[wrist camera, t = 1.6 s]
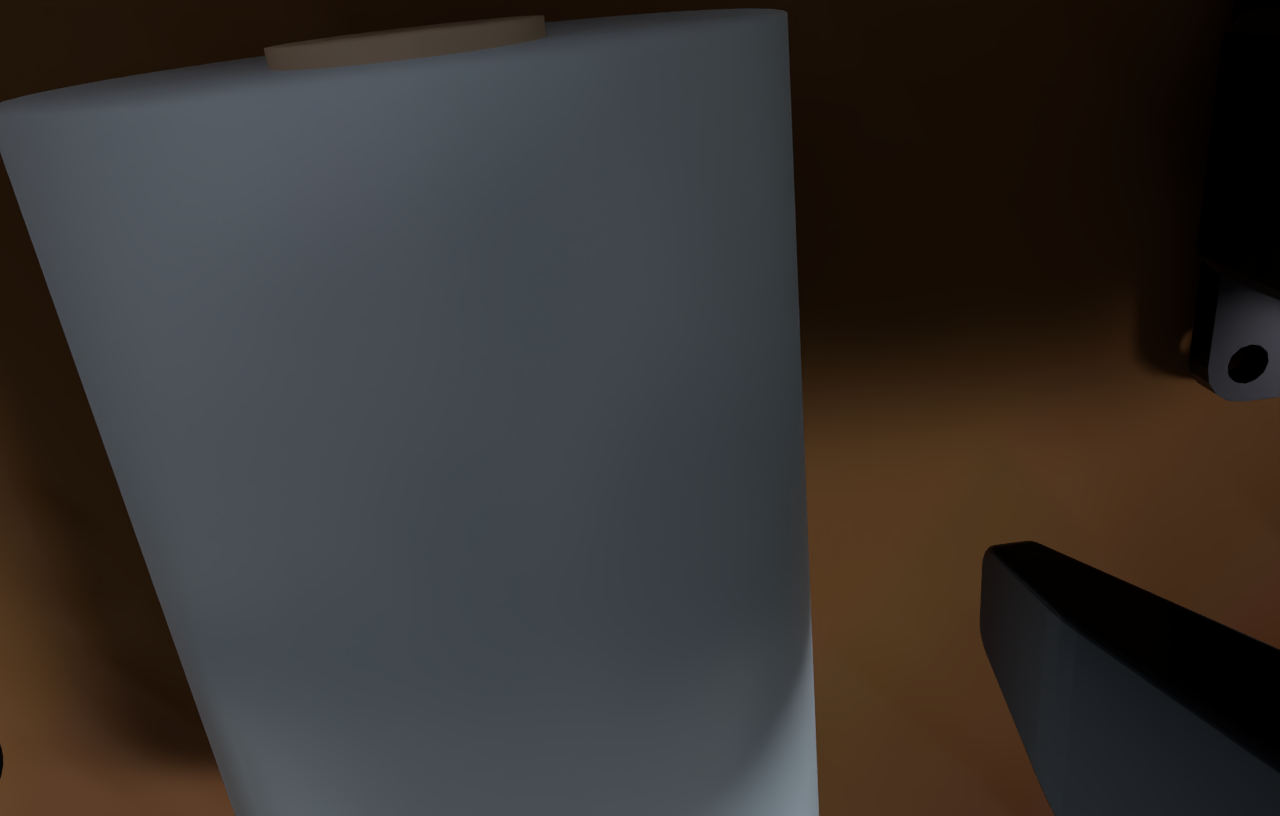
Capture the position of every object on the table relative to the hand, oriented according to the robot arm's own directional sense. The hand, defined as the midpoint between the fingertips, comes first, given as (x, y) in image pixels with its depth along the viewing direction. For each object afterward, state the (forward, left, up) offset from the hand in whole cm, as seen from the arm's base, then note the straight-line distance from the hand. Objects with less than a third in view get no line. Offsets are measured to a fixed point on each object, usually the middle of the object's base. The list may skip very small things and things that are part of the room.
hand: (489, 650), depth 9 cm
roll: (0, 0, -4) cm, 4 cm away
